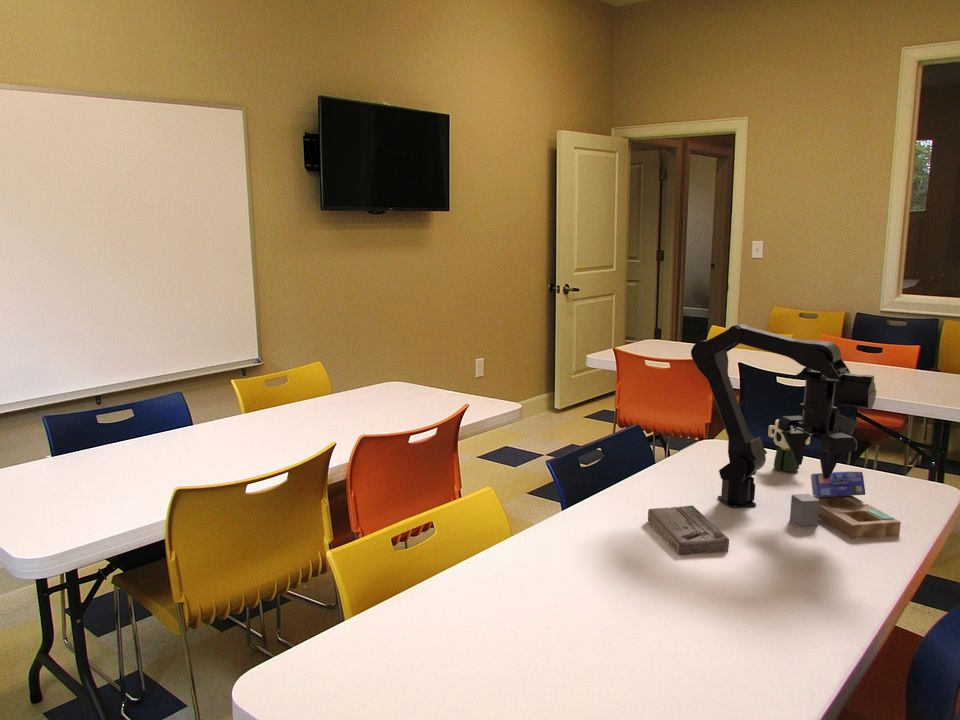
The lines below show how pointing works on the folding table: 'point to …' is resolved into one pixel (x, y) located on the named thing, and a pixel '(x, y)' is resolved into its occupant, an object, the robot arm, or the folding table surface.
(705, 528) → the box
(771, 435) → the character mug
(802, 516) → the plug
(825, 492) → the ink cartridge box
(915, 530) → the folding table surface
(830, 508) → the socket block
